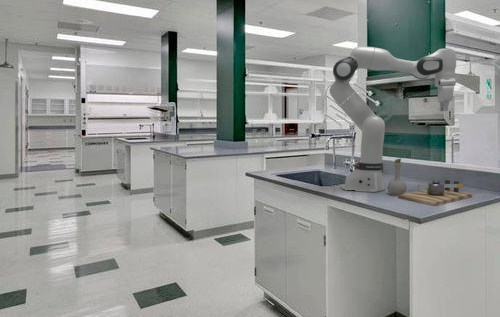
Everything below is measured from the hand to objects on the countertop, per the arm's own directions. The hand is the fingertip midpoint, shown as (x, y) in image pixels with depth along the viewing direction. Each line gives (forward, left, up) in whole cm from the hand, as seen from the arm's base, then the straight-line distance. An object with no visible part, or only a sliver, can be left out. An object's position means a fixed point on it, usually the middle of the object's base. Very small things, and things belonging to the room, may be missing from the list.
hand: (444, 111), depth 175 cm
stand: (-7, -13, -41) cm, 43 cm away
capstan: (-5, -13, -39) cm, 41 cm away
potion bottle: (-23, -7, -41) cm, 47 cm away
